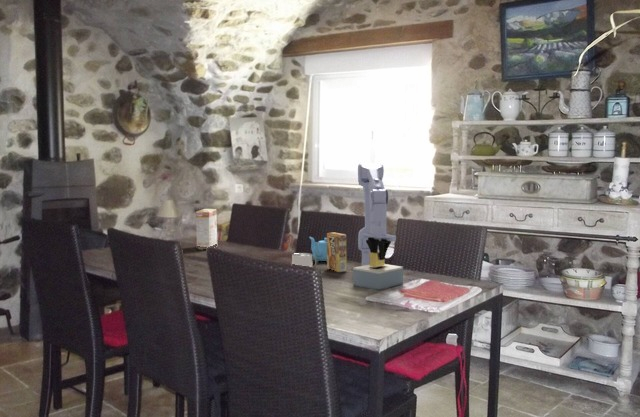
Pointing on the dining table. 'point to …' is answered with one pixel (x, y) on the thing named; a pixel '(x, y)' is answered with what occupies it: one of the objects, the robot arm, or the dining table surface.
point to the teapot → (319, 249)
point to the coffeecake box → (206, 227)
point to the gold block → (376, 259)
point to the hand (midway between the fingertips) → (378, 259)
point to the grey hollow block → (378, 276)
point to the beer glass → (302, 259)
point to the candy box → (336, 252)
